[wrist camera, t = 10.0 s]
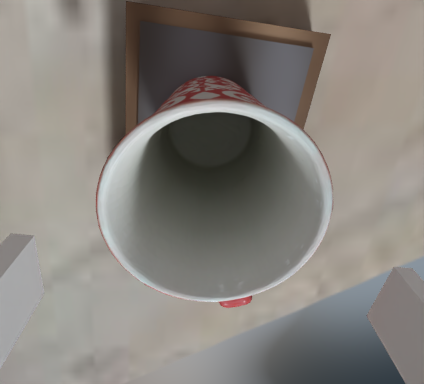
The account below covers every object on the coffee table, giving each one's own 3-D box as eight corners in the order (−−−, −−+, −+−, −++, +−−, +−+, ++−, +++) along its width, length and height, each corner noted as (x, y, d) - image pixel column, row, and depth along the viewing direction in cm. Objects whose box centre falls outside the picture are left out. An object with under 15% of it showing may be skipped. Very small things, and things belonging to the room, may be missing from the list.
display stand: (133, 204, 32) (124, 228, 28) (137, 5, 23) (124, 0, 19) (263, 218, 33) (271, 242, 29) (312, 33, 24) (332, 34, 21)
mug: (136, 70, 21) (54, 123, 10) (263, 50, 21) (343, 79, 9) (172, 217, 27) (149, 361, 16) (271, 204, 27) (326, 341, 15)
